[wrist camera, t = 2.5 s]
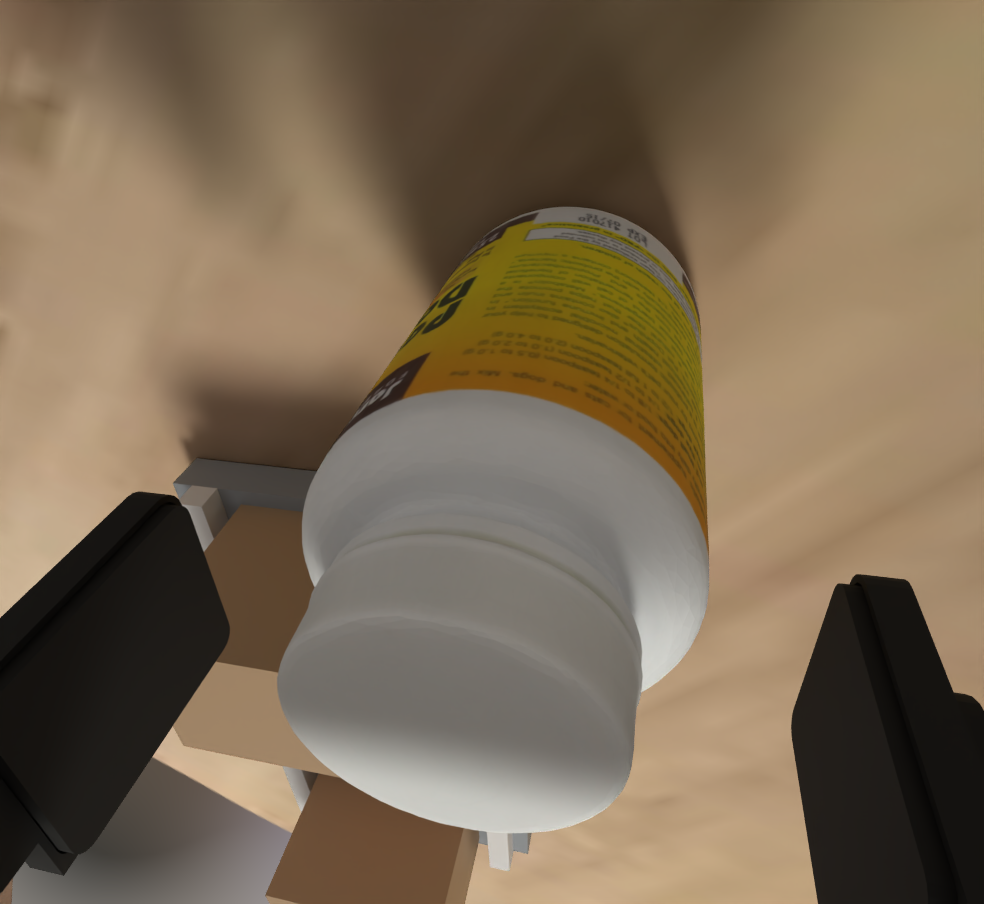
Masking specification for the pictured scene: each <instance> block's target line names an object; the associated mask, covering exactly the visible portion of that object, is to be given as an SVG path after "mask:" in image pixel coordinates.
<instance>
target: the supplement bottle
mask: <svg viewBox="0 0 984 904" xmlns="http://www.w3.org/2000/svg"><path fill="white" fill-rule="evenodd" d="M302 546H303V553H304V557H305V562H306V565H307V568H308V571H309V575H310V578H311V580H312V583H313V585H314V587H315V588H314V590H313V592H312V594H311V598H310V601H309V606H308V609H307V611H306V613H305V615H304V617H303V619H302V621H301V623H300V625H299V626H298V628H297V630H296V632H295V634H294V636H293V638H292V639H291V641H290V643H289V645H288V647H287V649H286V651H285V653H284V656H283V658H282V661H281V663H280V668H279V672H278V676H277V688H278V696H279V700H280V704H281V707H282V710H283V712H284V715H285V717H286V719H287V721H288V723H289V724H290V726H291V728H292V730H293V732H294V733H295V734H296V736H297V737H298V738H299V739H300V741H301V742H302V743H303V744H304V745H305V746H306V747H307V748H308V749H309V751H310V752H311V753H312V754H313V755H314V756H315V757H316V758H317V759H318V760H319V761H320V762H321V763H323V764H324V765H325V766H326V767H327V768H329V769H330V770H331V771H332V772H334V773H335V774H336V775H338V776H339V777H341V778H342V779H343V780H345V781H346V782H348V783H349V784H351V785H353V786H354V787H356V788H358V789H360V790H361V791H363V792H365V793H367V794H369V795H371V796H372V797H374V798H376V799H378V800H380V801H382V802H384V803H386V804H388V805H391V806H393V807H395V808H398V809H400V810H403V811H406V812H408V813H411V814H414V815H416V816H418V817H422V818H425V819H428V820H431V821H435V822H438V823H442V824H447V825H451V826H456V827H461V828H466V829H471V830H478V831H485V832H495V833H534V832H544V831H553V830H557V829H561V828H565V827H569V826H573V825H575V824H578V823H580V822H583V821H585V820H588V819H590V818H592V817H593V816H595V815H597V814H598V813H600V812H602V811H603V810H605V809H606V808H607V807H608V806H609V805H610V804H611V803H612V802H613V801H614V800H615V799H616V798H617V797H618V795H619V794H620V793H621V792H622V790H623V788H624V786H625V784H626V782H627V780H628V777H629V774H630V770H631V766H632V759H633V751H634V735H635V719H636V708H637V706H638V704H639V700H640V696H641V692H643V691H645V690H646V689H648V688H650V687H651V686H652V685H654V684H655V683H657V682H658V681H659V680H661V679H662V678H663V677H664V676H665V675H666V674H667V673H668V672H670V671H671V670H672V669H673V668H674V667H675V666H676V665H677V664H678V663H679V662H680V660H681V659H682V658H683V657H684V655H685V654H686V653H687V651H688V650H689V649H690V647H691V645H692V643H693V641H694V639H695V637H696V635H697V633H698V631H699V630H700V626H701V623H702V620H703V618H704V615H705V611H706V607H707V599H708V591H709V544H708V525H707V497H706V473H705V440H704V407H703V385H702V349H701V327H700V318H699V312H698V307H697V302H696V298H695V295H694V291H693V289H692V286H691V284H690V282H689V280H688V278H687V276H686V274H685V272H684V270H683V269H682V267H681V266H680V264H679V263H678V261H677V260H676V258H675V257H674V256H673V255H672V254H671V253H670V251H669V250H668V249H667V248H666V247H665V246H664V245H663V244H662V243H661V242H660V241H658V240H657V239H656V238H655V237H654V236H652V235H651V234H650V233H648V232H647V231H645V230H644V229H642V228H641V227H639V226H638V225H636V224H634V223H632V222H630V221H628V220H626V219H624V218H622V217H619V216H617V215H614V214H611V213H607V212H604V211H600V210H596V209H589V208H582V207H553V208H546V209H540V210H536V211H532V212H529V213H526V214H523V215H520V216H517V217H515V218H513V219H511V220H509V221H507V222H505V223H503V224H501V225H500V226H498V227H496V228H495V229H493V230H492V231H491V232H489V233H488V234H487V235H485V236H484V237H483V238H482V239H481V240H480V241H479V242H477V243H476V244H475V245H474V246H473V247H472V249H471V250H470V251H469V252H468V253H467V255H466V256H465V257H464V259H463V260H462V261H461V262H460V264H459V265H458V266H457V268H456V269H455V270H454V272H453V273H452V274H451V276H450V277H449V279H448V280H447V282H446V283H445V285H444V286H443V287H442V289H441V291H440V292H439V294H438V295H437V296H436V298H435V299H434V300H433V302H432V303H431V305H430V306H429V308H428V309H427V311H426V312H425V313H424V315H423V316H422V318H421V319H420V320H419V322H418V323H417V325H416V326H415V328H414V329H413V331H412V332H411V334H410V335H409V337H408V338H407V340H406V341H405V342H404V344H403V345H402V346H401V348H400V349H399V351H398V352H397V354H396V355H395V357H394V358H393V360H392V361H391V363H390V364H389V366H388V367H387V368H386V370H385V371H384V373H383V374H382V376H381V377H380V379H379V380H378V381H377V383H376V384H375V386H374V387H373V388H372V390H371V391H370V393H369V394H368V396H367V397H366V398H365V400H364V401H363V403H362V404H361V406H360V407H359V409H358V410H357V412H356V413H355V415H354V416H353V418H352V419H351V420H350V422H349V423H348V424H347V426H346V427H345V429H344V430H343V431H342V433H341V434H340V436H339V437H338V438H337V440H336V441H335V443H334V444H333V445H332V447H331V449H330V450H329V452H328V453H327V455H326V457H325V459H324V460H323V462H322V463H321V465H320V467H319V469H318V471H317V472H316V474H315V476H314V478H313V480H312V482H311V484H310V487H309V490H308V493H307V496H306V500H305V504H304V509H303V517H302Z"/></svg>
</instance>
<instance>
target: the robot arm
mask: <svg viewBox="0 0 984 904" xmlns="http://www.w3.org/2000/svg"><path fill="white" fill-rule="evenodd" d="M229 635H230V625H229V621H228V619H227V616H226V613H225V610H224V607H223V605H222V602H221V599H220V596H219V593H218V591H217V588H216V585H215V582H214V579H213V577H212V574H211V571H210V568H209V565H208V563H207V560H206V557H205V554H204V551H203V549H202V546H201V543H200V540H199V537H198V535H197V532H196V529H195V526H194V523H193V521H192V518H191V515H190V513H189V511H188V509H187V508H186V507H184V506H182V504H181V502H180V501H179V499H178V498H176V497H175V496H172V495H165V494H156V493H147V492H135V493H133V494H131V495H130V496H128V497H127V498H126V499H125V500H124V501H123V502H122V503H121V504H120V505H119V506H117V507H116V508H115V509H114V510H113V511H112V512H111V513H110V514H109V515H108V516H107V517H106V518H105V519H104V520H103V521H102V522H101V523H100V524H99V525H97V526H96V527H95V528H94V529H93V530H92V531H91V532H90V533H89V534H88V535H87V536H86V537H85V538H84V539H83V540H82V541H81V542H80V543H79V544H78V545H76V546H75V547H74V548H73V549H72V550H71V551H70V552H69V553H68V554H67V555H66V556H65V557H64V558H63V559H62V560H61V561H60V562H59V563H58V564H56V565H55V566H54V567H53V568H52V569H51V570H50V571H49V572H48V573H47V574H46V575H45V576H44V577H43V578H42V579H41V580H40V581H39V582H38V583H36V584H35V585H34V586H33V587H32V588H31V589H30V590H29V591H28V592H27V593H26V594H25V595H24V596H23V597H22V598H21V599H20V600H19V601H18V602H17V603H15V604H14V605H13V606H12V607H11V608H10V609H9V610H8V611H7V612H6V613H5V614H4V615H3V616H2V617H1V618H0V904H11V902H12V882H13V881H12V880H13V877H14V875H15V874H16V872H17V871H18V870H19V868H20V867H21V866H22V865H23V863H24V862H26V863H27V864H28V865H29V867H30V868H34V869H38V870H43V871H47V872H51V873H55V874H59V875H63V876H64V875H65V873H66V872H67V870H68V868H69V867H70V866H71V864H72V863H73V861H74V860H75V858H76V857H77V855H78V854H81V853H84V852H85V851H87V850H88V849H89V848H90V847H91V846H92V845H93V844H94V842H95V841H96V840H97V838H98V837H99V836H100V834H101V833H102V831H103V830H104V828H105V827H106V825H107V824H108V822H109V821H110V819H111V818H112V816H113V815H114V813H115V812H116V810H117V809H118V807H119V806H120V804H121V803H122V801H123V800H124V798H125V797H126V795H127V794H128V792H129V791H130V789H131V788H132V786H133V785H134V783H135V782H136V780H137V779H138V777H139V776H140V774H141V773H142V771H143V769H144V768H145V767H146V765H147V764H148V762H149V761H150V759H151V758H152V756H153V755H154V753H155V752H156V750H157V749H158V747H159V746H160V744H161V743H162V741H163V740H164V738H165V737H166V735H167V734H168V732H169V731H170V729H171V728H172V726H173V725H174V723H175V722H176V720H177V719H178V717H179V716H180V714H181V713H182V711H183V710H184V708H185V707H186V705H187V704H188V702H189V701H190V699H191V698H192V696H193V695H194V693H195V692H196V690H197V689H198V687H199V686H200V685H201V683H202V682H203V680H204V679H205V677H206V676H207V674H208V673H209V671H210V670H211V668H212V667H213V665H214V664H215V662H216V661H217V659H218V658H219V656H220V655H221V653H222V652H223V650H224V648H225V647H226V645H227V642H228V639H229ZM791 730H792V742H793V748H794V754H795V761H796V767H797V773H798V780H799V786H800V792H801V798H802V805H803V811H804V817H805V824H806V830H807V836H808V843H809V849H810V855H811V862H812V868H813V874H814V881H815V887H816V893H817V900H818V904H984V710H983V708H982V707H981V705H980V704H979V703H978V702H977V701H976V700H975V699H974V698H973V697H972V696H969V695H966V694H960V693H954V692H953V690H952V687H951V685H950V682H949V680H948V677H947V675H946V672H945V670H944V667H943V664H942V662H941V659H940V657H939V654H938V652H937V649H936V647H935V644H934V642H933V639H932V637H931V634H930V632H929V629H928V626H927V624H926V621H925V619H924V616H923V614H922V611H921V609H920V606H919V604H918V601H917V599H916V596H915V594H914V591H913V589H912V587H911V585H910V583H909V582H908V581H906V580H905V579H896V578H887V577H878V576H870V575H861V574H857V575H855V576H854V577H853V578H852V580H851V582H850V585H849V584H837V585H836V587H835V589H834V591H833V594H832V597H831V600H830V603H829V606H828V609H827V612H826V615H825V618H824V621H823V624H822V627H821V630H820V633H819V636H818V639H817V642H816V645H815V648H814V651H813V654H812V657H811V659H810V662H809V665H808V668H807V671H806V674H805V677H804V680H803V683H802V686H801V689H800V692H799V695H798V698H797V701H796V704H795V707H794V710H793V714H792V725H791Z"/></svg>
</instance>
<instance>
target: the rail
mask: <svg viewBox="0 0 984 904" xmlns="http://www.w3.org/2000/svg"><path fill="white" fill-rule="evenodd" d="M316 472H317V471H309V470H300V469H290V468H281V467H272V466H263V465H254V464H245V463H235V462H226V461H217V460H208V459H199V458H196V459H195V460H194V461H193V462H192V463H191V465H190V466H189V467H188V468H187V469H186V470H185V471H184V472H183V473H182V474H181V475H180V476H179V477H178V478H177V479H176V481H175V482H174V483H173V484H174V487H175V489H176V492H177V494H178V497H179V501H180V502H181V504H182V506H184V507H186V508H187V509H188V511H189V513H190V515H191V518H192V521H193V523H194V526H195V529H196V532H197V535H198V537H199V540H200V543H201V546H202V549H203V551H204V554H205V557H206V560H207V563H208V565H209V568H210V571H211V574H212V577H213V579H214V582H215V585H216V588H217V591H218V593H219V596H220V599H221V602H222V605H223V607H224V610H225V613H226V616H227V619H228V621H229V625H230V635H229V639H228V642H227V645H226V647H225V648H224V650H223V652H222V653H221V655H220V656H219V658H218V659H217V661H216V662H215V664H214V665H213V667H212V668H211V670H210V671H209V673H208V674H207V676H206V677H205V679H204V680H203V682H202V683H201V685H200V686H199V687H198V689H197V690H196V692H195V693H194V695H193V696H192V698H191V699H190V701H189V702H188V704H187V705H186V707H185V708H184V710H183V711H182V713H181V714H180V716H179V717H178V719H177V720H176V722H175V723H174V725H173V727H174V729H175V731H176V733H177V735H178V736H179V738H180V740H181V742H182V744H183V746H187V747H192V748H197V749H202V750H206V751H211V752H216V753H221V754H226V755H231V756H236V757H241V758H246V759H251V760H256V761H261V762H265V763H270V764H275V765H280V766H283V769H284V771H285V774H286V776H287V779H288V781H289V784H290V786H291V788H292V791H293V793H294V796H295V798H296V801H297V803H298V806H299V808H300V810H301V815H300V817H299V819H298V822H297V824H296V826H295V829H294V831H293V833H292V835H291V838H290V840H289V842H288V845H287V847H286V849H285V852H284V854H283V856H282V858H281V861H280V863H279V865H278V867H277V870H276V872H275V874H274V877H273V879H272V881H271V884H270V886H269V888H268V890H267V893H266V895H265V896H266V897H267V899H268V901H269V903H270V904H465V900H466V895H467V891H468V887H469V882H470V878H471V873H472V869H473V865H474V860H475V856H476V851H477V847H478V843H480V844H485V845H488V850H489V861H490V867H492V868H497V869H501V870H506V871H510V867H511V861H512V856H513V851H517V852H522V853H527V854H528V850H529V844H530V839H531V833H495V832H485V831H478V830H471V829H466V828H461V827H456V826H451V825H447V824H442V823H438V822H435V821H431V820H428V819H425V818H422V817H418V816H416V815H414V814H411V813H408V812H406V811H403V810H400V809H398V808H395V807H393V806H391V805H388V804H386V803H384V802H382V801H380V800H378V799H376V798H374V797H372V796H371V795H369V794H367V793H365V792H363V791H361V790H360V789H358V788H356V787H354V786H353V785H351V784H349V783H348V782H346V781H345V780H343V779H342V778H341V777H339V776H338V775H336V774H335V773H334V772H332V771H331V770H330V769H329V768H327V767H326V766H325V765H324V764H323V763H321V762H320V761H319V760H318V759H317V758H316V757H315V756H314V755H313V754H312V753H311V752H310V751H309V749H308V748H307V747H306V746H305V745H304V744H303V743H302V742H301V741H300V739H299V738H298V737H297V736H296V734H295V733H294V732H293V730H292V728H291V726H290V724H289V723H288V721H287V719H286V717H285V715H284V712H283V710H282V707H281V704H280V700H279V696H278V688H277V676H278V672H279V668H280V663H281V661H282V658H283V656H284V653H285V651H286V649H287V647H288V645H289V643H290V641H291V639H292V638H293V636H294V634H295V632H296V630H297V628H298V626H299V625H300V623H301V621H302V619H303V617H304V615H305V613H306V611H307V609H308V606H309V601H310V598H311V594H312V592H313V590H314V588H315V587H314V585H313V583H312V580H311V578H310V575H309V571H308V568H307V565H306V562H305V557H304V553H303V546H302V517H303V509H304V504H305V500H306V496H307V493H308V490H309V487H310V484H311V482H312V480H313V478H314V476H315V474H316Z"/></svg>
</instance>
